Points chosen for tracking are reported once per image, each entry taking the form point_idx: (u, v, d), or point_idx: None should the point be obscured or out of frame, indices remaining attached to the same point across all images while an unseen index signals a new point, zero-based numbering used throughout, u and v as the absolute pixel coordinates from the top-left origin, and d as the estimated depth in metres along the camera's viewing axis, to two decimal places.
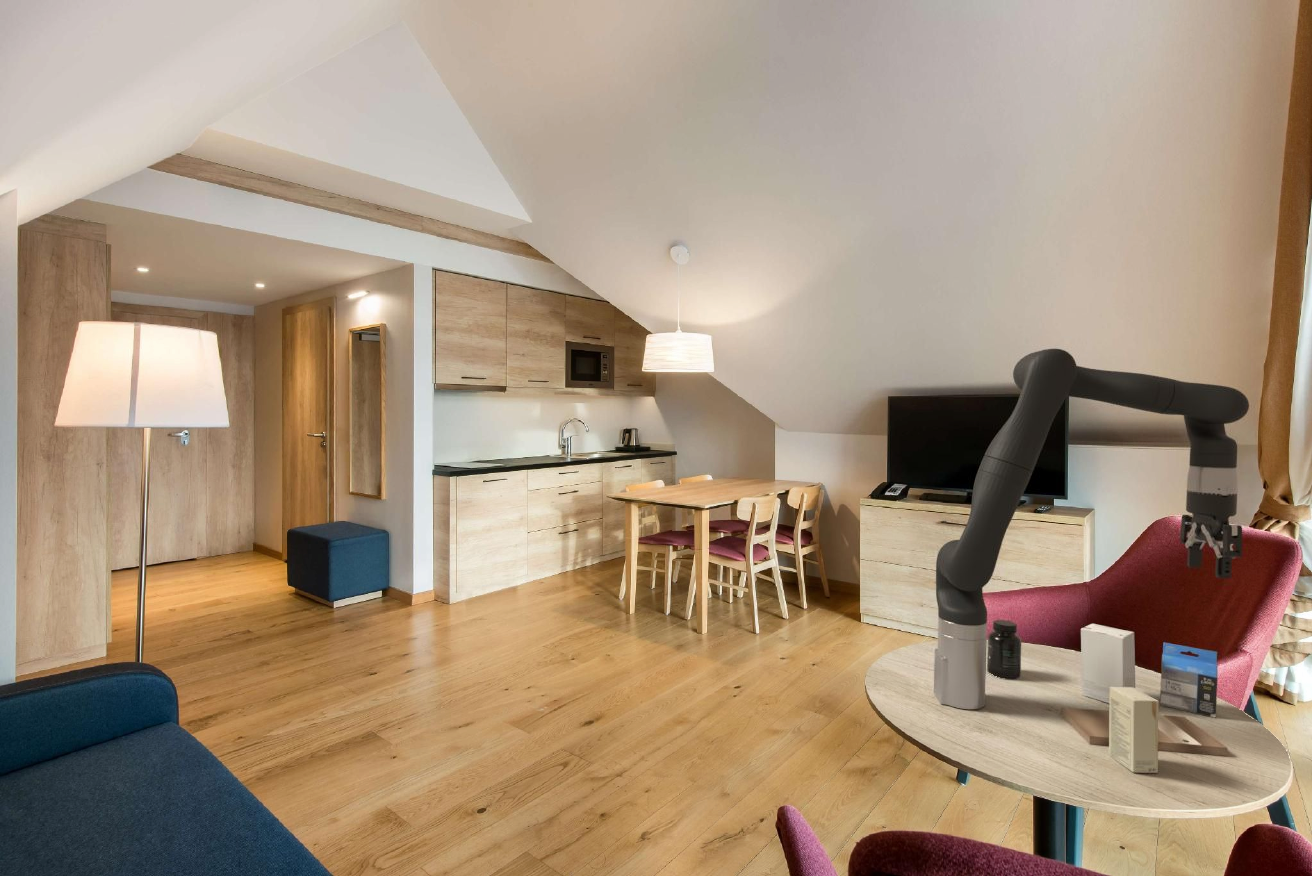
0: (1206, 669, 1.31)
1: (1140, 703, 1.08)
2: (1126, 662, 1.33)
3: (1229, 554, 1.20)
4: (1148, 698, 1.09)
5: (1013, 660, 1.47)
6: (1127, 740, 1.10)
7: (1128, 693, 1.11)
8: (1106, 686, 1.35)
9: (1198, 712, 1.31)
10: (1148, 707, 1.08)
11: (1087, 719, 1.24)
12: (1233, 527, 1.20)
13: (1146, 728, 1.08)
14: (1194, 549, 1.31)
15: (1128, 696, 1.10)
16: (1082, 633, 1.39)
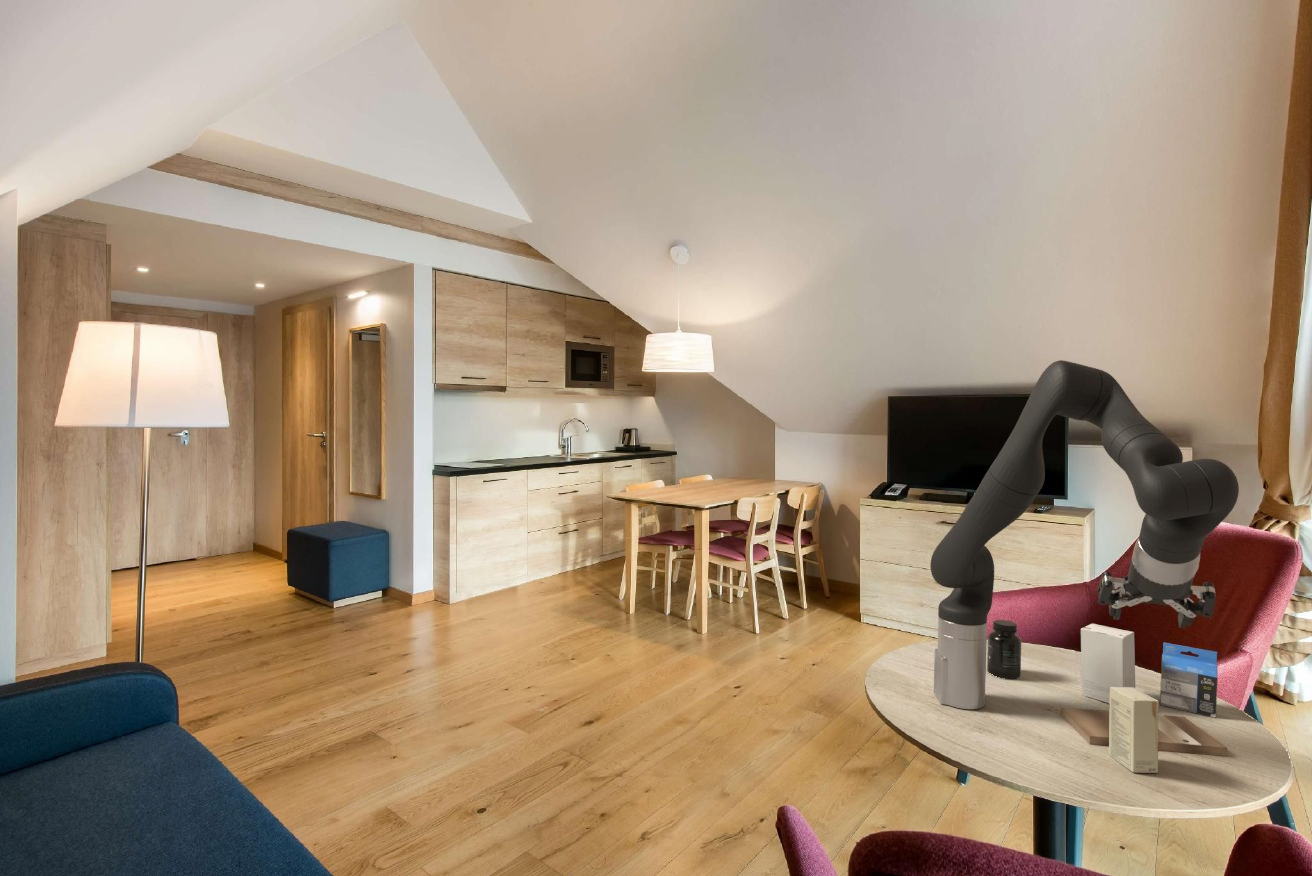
0: (1206, 669, 1.31)
1: (1141, 703, 1.08)
2: (1126, 662, 1.33)
3: None
4: (1148, 698, 1.09)
5: (1013, 660, 1.47)
6: (1127, 740, 1.10)
7: (1129, 693, 1.11)
8: (1106, 686, 1.35)
9: (1198, 712, 1.31)
10: (1149, 707, 1.08)
11: (1087, 719, 1.24)
12: (1103, 578, 1.02)
13: (1146, 728, 1.08)
14: None
15: (1128, 696, 1.10)
16: (1082, 633, 1.39)
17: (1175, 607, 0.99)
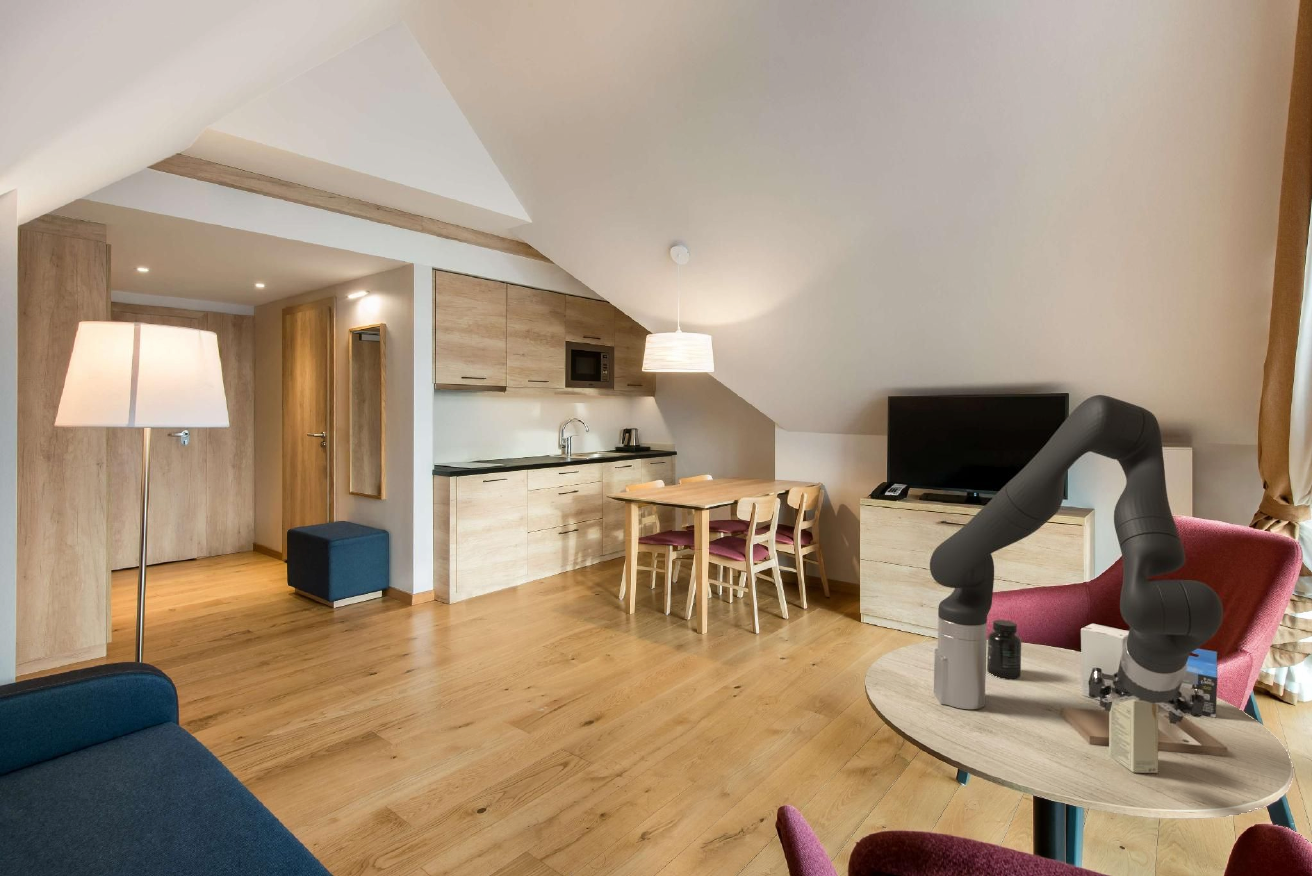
0: (1206, 669, 1.31)
1: (1141, 703, 1.08)
2: None
3: (1088, 683, 1.07)
4: None
5: (1013, 660, 1.47)
6: (1127, 740, 1.10)
7: None
8: None
9: None
10: (1149, 707, 1.08)
11: (1087, 719, 1.24)
12: (1093, 674, 1.03)
13: (1146, 728, 1.08)
14: None
15: None
16: (1082, 633, 1.39)
17: (1164, 707, 0.99)
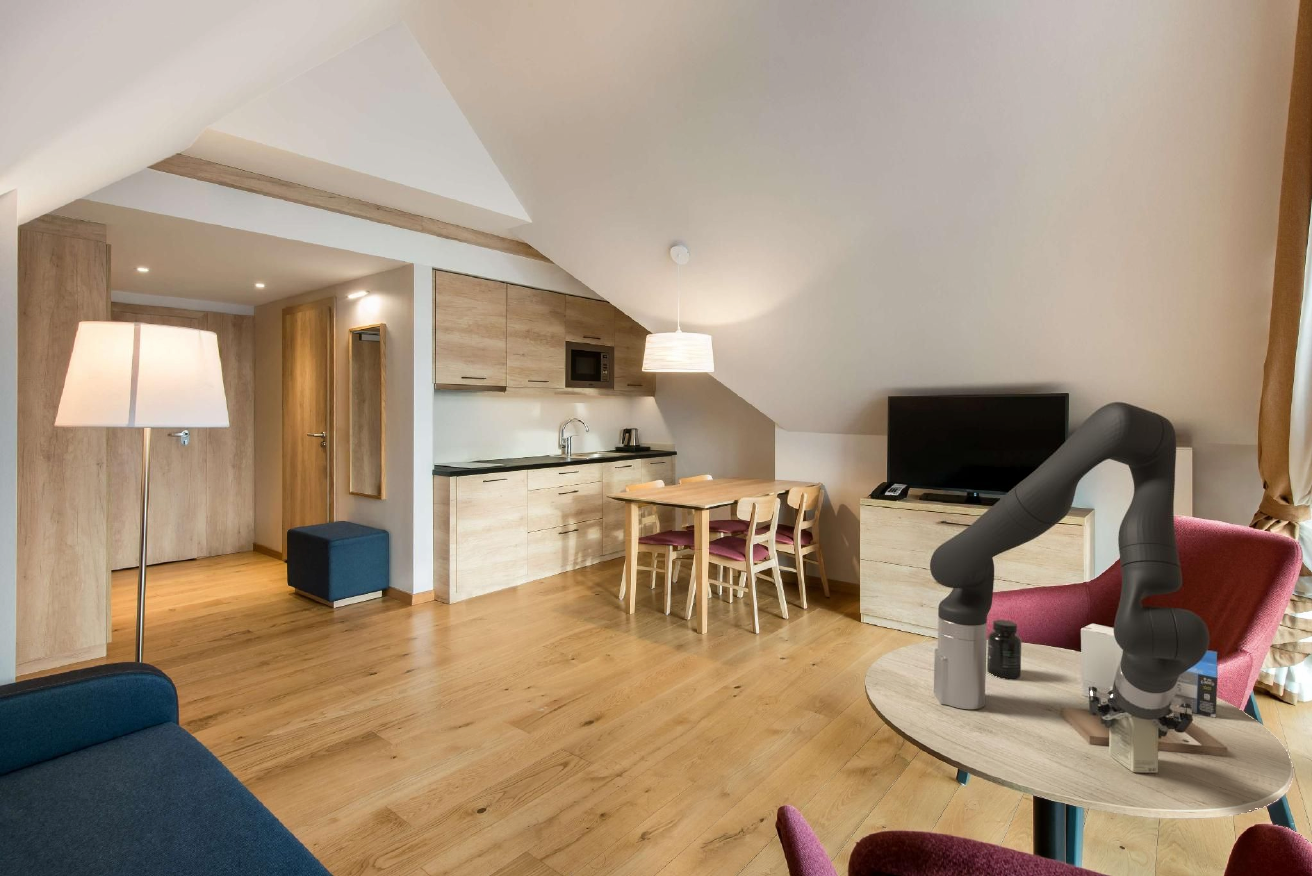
0: (1206, 669, 1.31)
1: None
2: None
3: None
4: None
5: (1013, 660, 1.47)
6: (1127, 740, 1.10)
7: None
8: (1106, 686, 1.35)
9: (1198, 712, 1.31)
10: None
11: (1087, 719, 1.24)
12: (1089, 693, 1.10)
13: (1146, 728, 1.08)
14: None
15: None
16: (1082, 633, 1.39)
17: (1153, 722, 1.06)
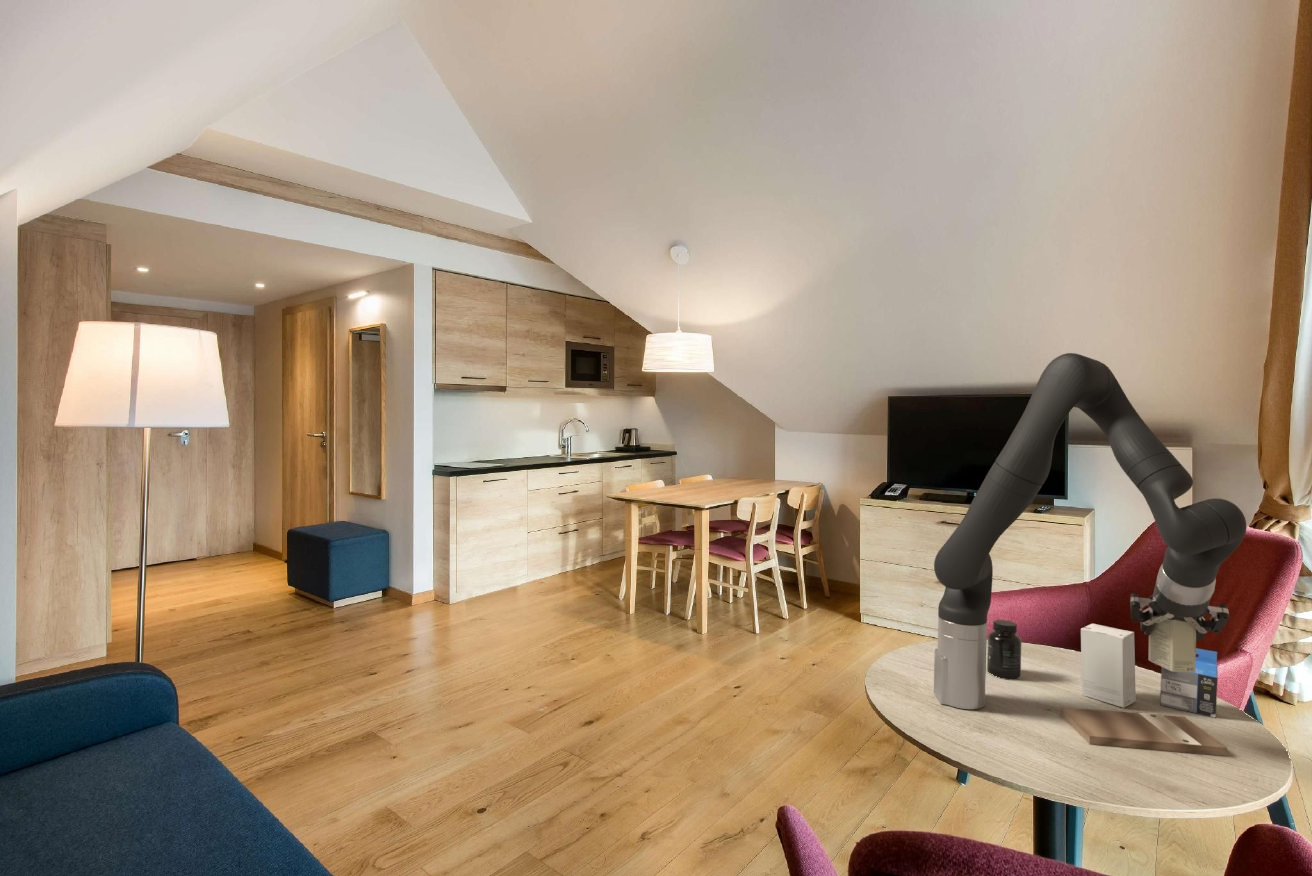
0: (1206, 669, 1.31)
1: None
2: (1126, 662, 1.33)
3: None
4: None
5: (1013, 660, 1.47)
6: (1166, 643, 1.18)
7: None
8: (1106, 686, 1.35)
9: (1198, 712, 1.31)
10: None
11: (1087, 719, 1.24)
12: (1131, 599, 1.19)
13: (1185, 631, 1.17)
14: None
15: None
16: (1082, 633, 1.39)
17: (1192, 624, 1.15)
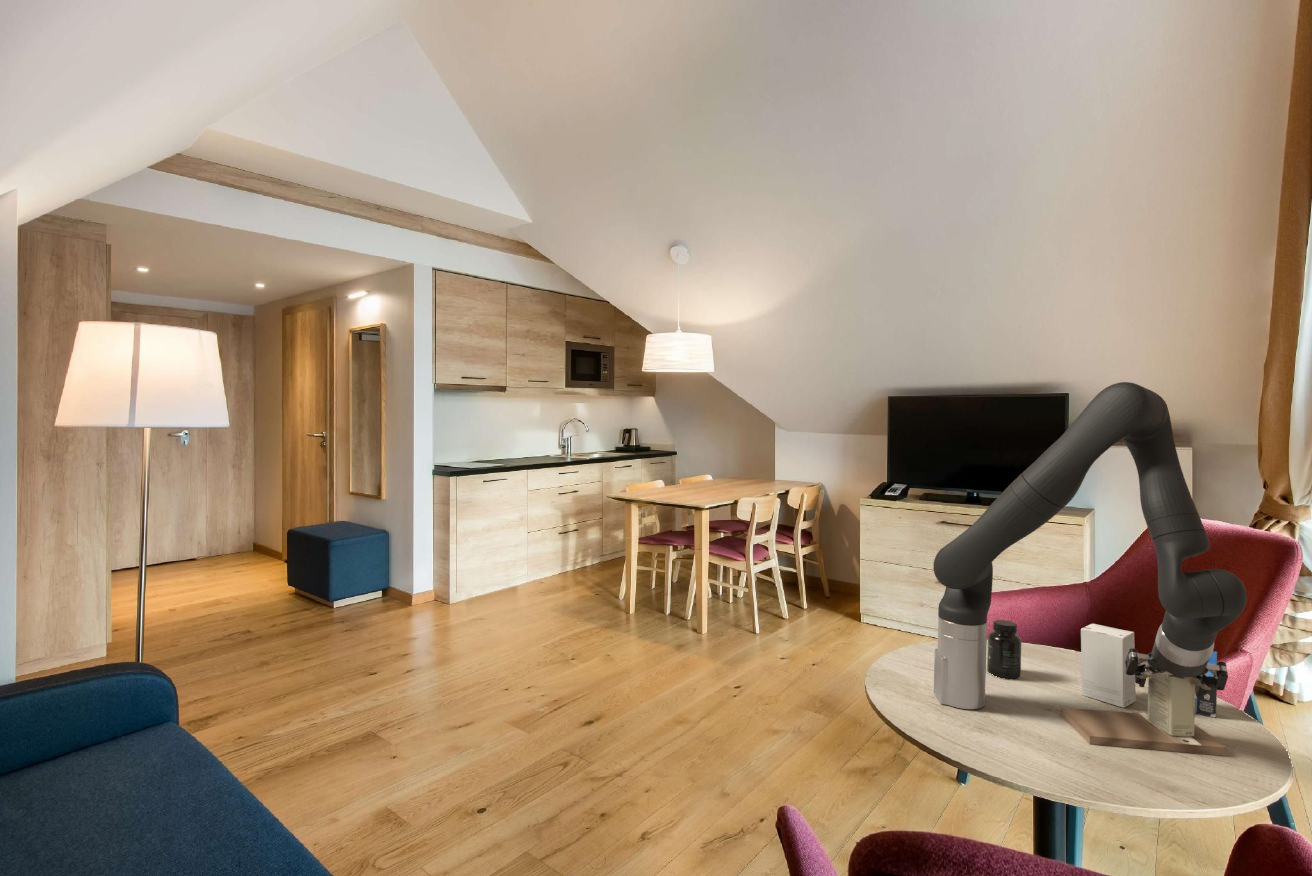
0: None
1: None
2: None
3: (1125, 663, 1.23)
4: None
5: (1013, 660, 1.47)
6: (1165, 706, 1.19)
7: None
8: (1106, 686, 1.35)
9: (1198, 712, 1.31)
10: None
11: (1087, 719, 1.24)
12: (1130, 654, 1.19)
13: (1183, 695, 1.18)
14: None
15: None
16: (1082, 633, 1.39)
17: (1192, 681, 1.15)
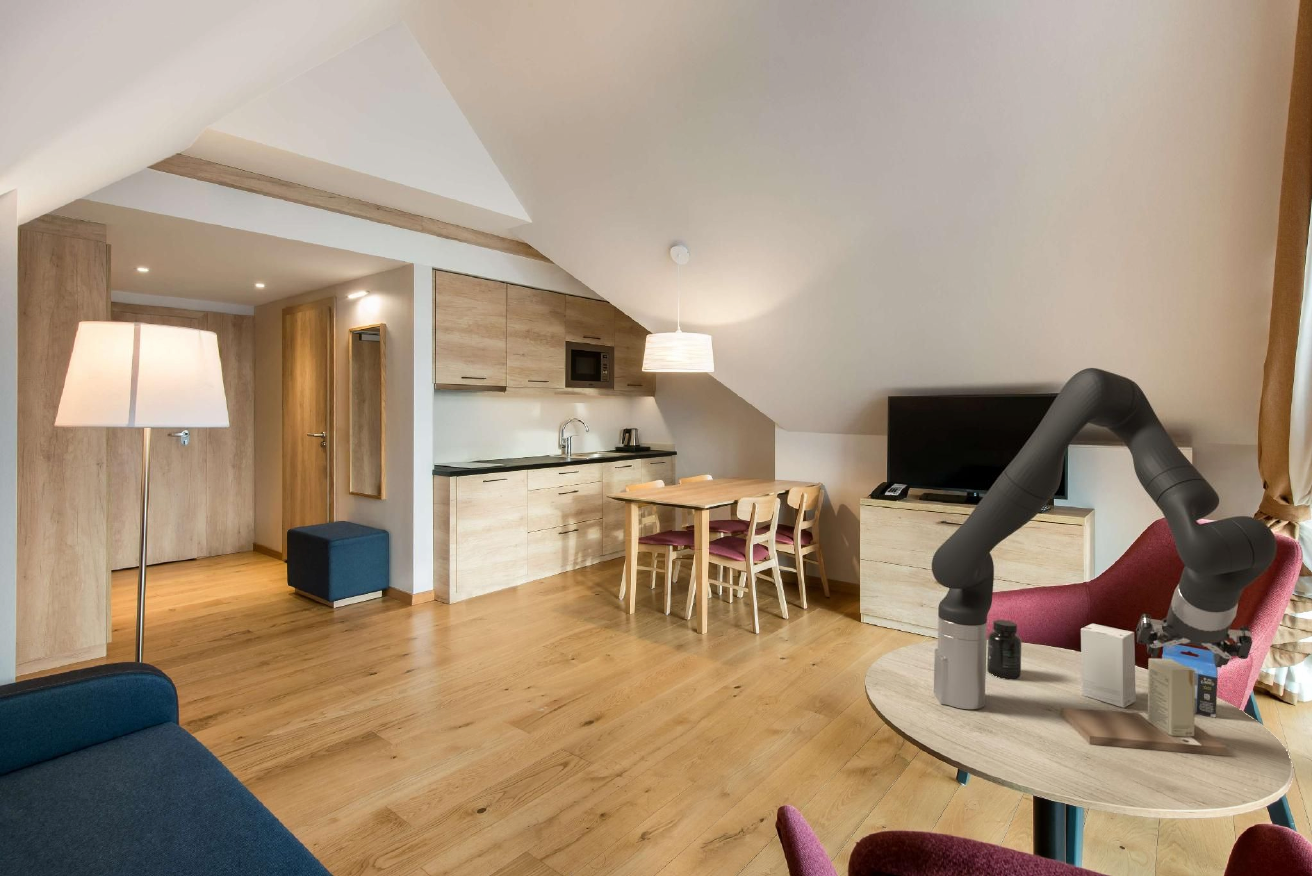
0: (1206, 669, 1.31)
1: (1178, 672, 1.18)
2: (1126, 662, 1.33)
3: (1136, 631, 1.12)
4: (1185, 667, 1.19)
5: (1013, 660, 1.47)
6: (1165, 706, 1.19)
7: (1166, 663, 1.21)
8: (1106, 686, 1.35)
9: (1198, 712, 1.31)
10: (1186, 675, 1.18)
11: (1087, 719, 1.24)
12: (1143, 620, 1.08)
13: (1183, 695, 1.18)
14: None
15: (1166, 666, 1.19)
16: (1082, 633, 1.39)
17: (1212, 649, 1.04)
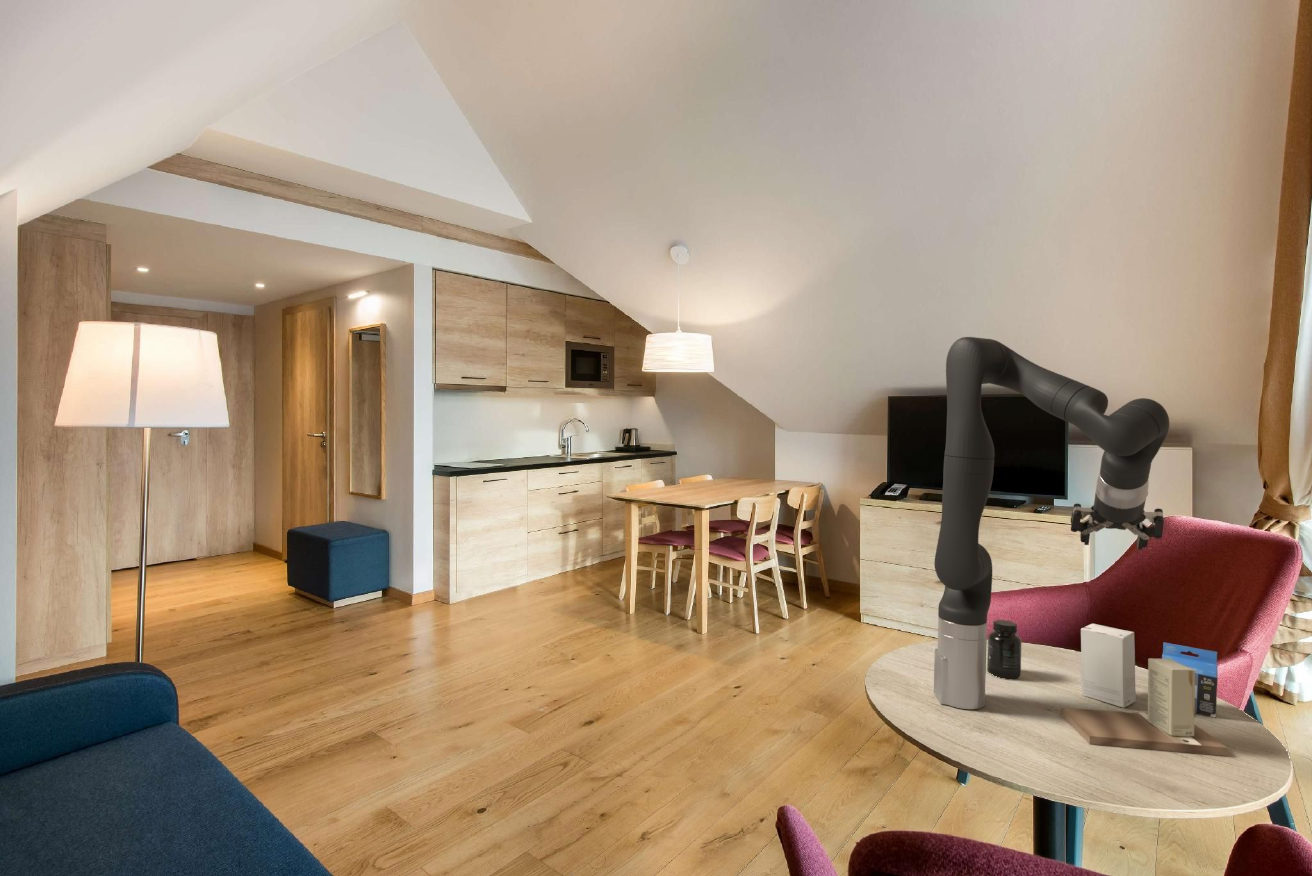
0: (1206, 669, 1.31)
1: (1178, 672, 1.18)
2: (1126, 662, 1.33)
3: None
4: (1185, 667, 1.19)
5: (1013, 660, 1.47)
6: (1165, 706, 1.19)
7: (1166, 663, 1.21)
8: (1106, 686, 1.35)
9: (1198, 712, 1.31)
10: (1186, 675, 1.18)
11: (1087, 719, 1.24)
12: (1074, 508, 1.25)
13: (1183, 695, 1.18)
14: None
15: (1166, 666, 1.19)
16: (1082, 633, 1.39)
17: (1132, 530, 1.21)
